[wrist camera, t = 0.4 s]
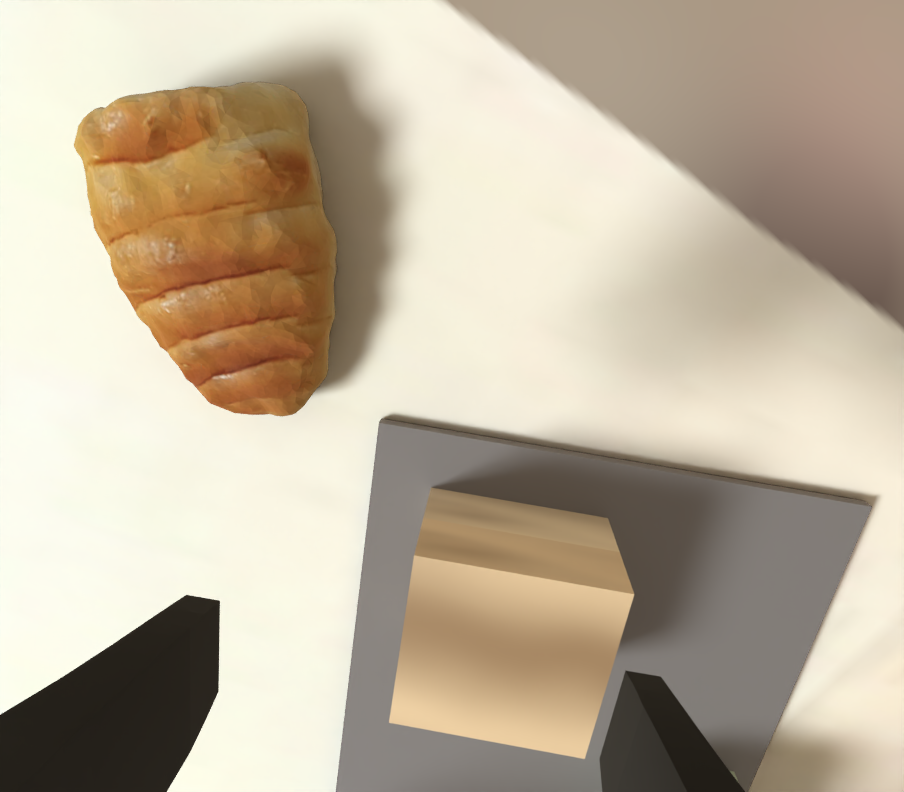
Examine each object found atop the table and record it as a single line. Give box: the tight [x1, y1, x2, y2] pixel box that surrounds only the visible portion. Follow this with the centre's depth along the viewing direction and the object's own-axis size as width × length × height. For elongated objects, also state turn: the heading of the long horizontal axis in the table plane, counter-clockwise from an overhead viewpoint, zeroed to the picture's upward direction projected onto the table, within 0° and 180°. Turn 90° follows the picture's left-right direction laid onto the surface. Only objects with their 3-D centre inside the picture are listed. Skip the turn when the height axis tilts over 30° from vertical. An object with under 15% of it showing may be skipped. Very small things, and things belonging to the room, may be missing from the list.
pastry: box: [74, 82, 337, 416], centre depth 16 cm, size 9×7×4 cm
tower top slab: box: [389, 518, 634, 759], centre depth 17 cm, size 6×6×2 cm
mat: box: [336, 419, 872, 792], centre depth 22 cm, size 20×16×1 cm
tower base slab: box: [423, 488, 620, 552], centre depth 19 cm, size 6×6×2 cm
